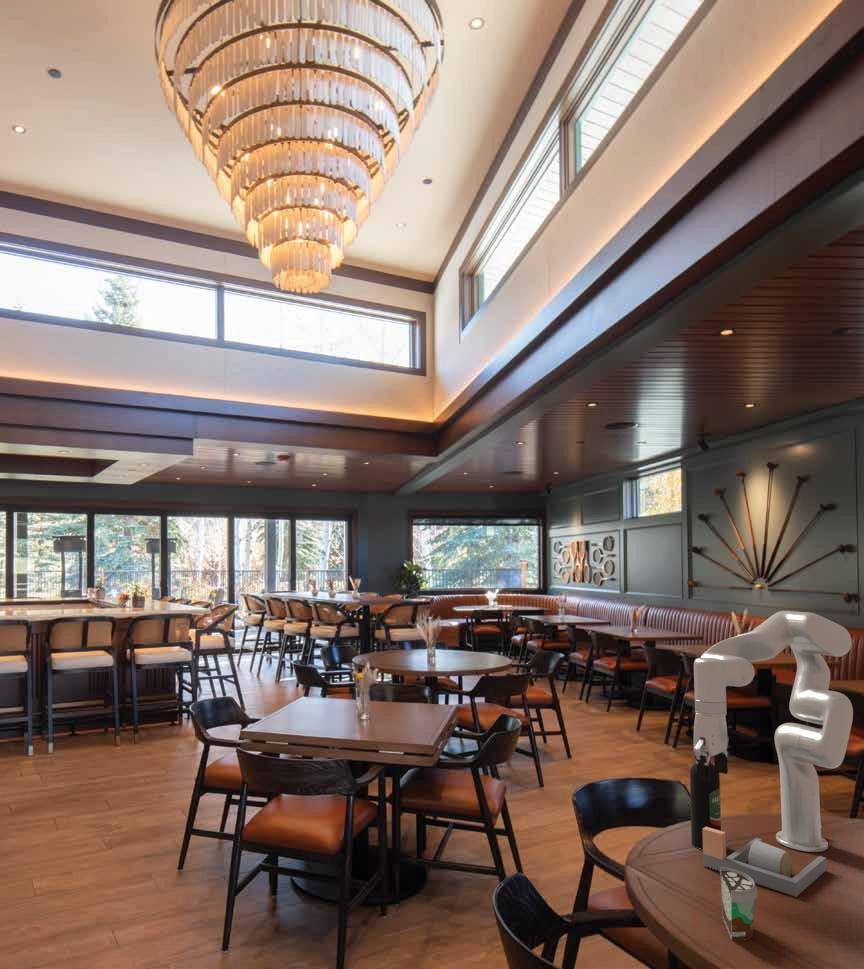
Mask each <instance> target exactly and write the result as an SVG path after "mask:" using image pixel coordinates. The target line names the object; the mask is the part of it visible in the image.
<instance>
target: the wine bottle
mask: <svg viewBox="0 0 864 969" xmlns="http://www.w3.org/2000/svg"><path fill="white" fill-rule="evenodd" d="M703 752H705V751H703ZM704 758H705V759H706V756H704ZM709 765H710V772H711V781H710V782H705V781H701V780H698V779H697V763H696V762H695V763H693V764H692V765H691V767H690V770H689V786H690V787H689V790H690V792H689V793H690V830H691V831H690V832H691V835H690V836H691V845H692V844H693V845H694V846H695V847H698V848H701V849H703V832H702V829H703V828H704V827H709V828H712V829H716V830H719V831H722V815H721V813H722V812H721V783H720V782H721V781H720V780H721V777H720V773H719V772H716V771H715V764H713V763H712V762H711V760H710V761H709ZM693 845H692V846H693ZM694 846H693V847H694ZM695 847H694V848H695ZM698 848H697V849H698Z"/></svg>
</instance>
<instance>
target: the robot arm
mask: <svg viewBox="0 0 864 969" xmlns="http://www.w3.org/2000/svg"><path fill="white" fill-rule="evenodd" d="M788 646H789V647H790V650H792V653H793V655H794V658H795V661H796V673H795V677H794V678H795V679H794V682H793V686H792V690H791V695H790V700H789V706H788V707H789V708H788V709H789V712H790V713H791V715H792V716H793V717H794V718H795V719H798V720H800V721H803V722H807V723H808V722H809V723H812V724H816V725H821V726H822V728H817V727H813V726H810V725H806V724H802V723H801V724H800V723H795V722H785V723H783V724H780V725H779V726H778V727H777V728H776V729H775V732H774V745H775V750H776V753H777V758H778V759H777V760H778V765H779V766H778V767H779V778H780V780H779V783H780V784H779V787H780V788H779V789H780V807H781V809H780V811H781V812H780V813H781V830H780V831H777V833H776V834H775V839H776V841H777V842H778V843H779V844H781V845H783V846H785V847H787V848H789V849H793V850H797V851H801V852H807V853H808V852H809V853H810V852H811V853H819V852H825V851H826V850H828V848H829V843H828V841H827V840H826V839H825V838H823V837H822V829H821V828H822V823H821V807H820V805H821V804H820V781H819V774H818V773H817V770H816V768H815V766H818V767H822V768H826V769H836V768H838V767H839V766H841V765H842V763H843V762H844V759H845V755H846V752H847V747H848V743H849V738H850V734H851V729H852V724H853V719H854V718H853V716H854V708H853V704H852V702H851V700H850V699H849V697H848V696H847V695H845V694H844V693H841V692H838V691H835V690H829V688H830V681H831V670H830V668H829V666H828V664H827V662H826V660H825V659H824V657H823V656H830V657H843V656H844V655H847V654H848V653H849V651H850V650H851V648H852V637H851V634H850V633H849V631H848V630H847V628H845V627H844V626H842V625H841V624H838V623H836V622H835V621H832V620H830V619H829V618H826V617H824V616H821V615H819V614H817V613H814V612H806V611H805V612H804V611H797V610H796V611H793V610H779V611H777V612H775V613H774V614H772V615H771V616H769V617H768V618H767V619H766V620H765V621H762V623H760V624H759V625H758V626H756V627H755V628H754V629H753V630H750V631H749V632H745V633H741V634H739V635H736V636H733V637H729V638H725V639H724V640H721V641H718V642H717V643H715V644H714V645H712V646H710V648H708V649H707V650H705V651H704V652H703V654H702V655H701V656H700V657H697V658H695V659H694V662H693V676H694V677H693V679H694V680H693V681H694V684H693V685H694V712H695V716H694V722H693V723H694V724H693V753H694V758H695V763H697V779H698V780H701V781H705V782H710V781H711V772H710V765H709V761H710V762H711V757H713V758H714V766H715V771H716V772H719V774H724V775H728V773H729V770H728V768H729V767H728V766H729V764H728V762H729V761H728V756H729V752H728V750H729V741H730V740H729V738H730V737H729V736H728V727H727V718H726V716H727V715H728V714H727V708H728V707H727V688H726V687H740V688H741V687H745V686H747V685H749V684H751V682H752V681H754V680H753V679H754V677H755V668H754V665H753V664H752V663H753V662H754V663H755V662H763V661H768V660H772V659H774V658H775V657H776V656H777V655H779V654H780V653H781V652H782V651H784V650H785V649H786V648H787V647H788ZM751 662H752V663H751ZM703 751H705V752H703ZM704 756H706V759H705V758H704ZM814 765H815V766H814Z"/></svg>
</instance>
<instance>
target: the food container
mask: <svg viewBox="0 0 864 969" xmlns="http://www.w3.org/2000/svg"><path fill="white" fill-rule="evenodd" d="M719 876H720V888H721V891H720V892H721V894H720V895H721V912H722V913H721V914H722V915H721V916H722V920H723V919H724V920H723V922H724V924H726V925H725V928H726V929H728V930H727V931H728V934H730V935H729V937H730V939H732V940H731V941H737V940H738V941H745V940H744V939H746V940H749V939H751V938H752V937H753V933H754V912H755V910H754V909H755V900H756V899H757V898H758V895H759V894H758V889H757V885H756V883H754V881H753V879H752V878H751V877H749V876H748V875H746V874H744V873H742V872H740V871H737V870H734V869H730V868H724V867H720V871H719ZM748 938H749V939H748Z"/></svg>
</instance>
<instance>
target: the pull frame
mask: <svg viewBox="0 0 864 969" xmlns="http://www.w3.org/2000/svg"><path fill="white" fill-rule="evenodd" d="M702 832H703V850H702V858H703V859H702V864H703V867H705V866H706V867H705V868H708V867H709V868H708V869H711V868H712V869H711V870H714V869H715V870H714V871H717V870H718V872H720V867H724V868H730V869H734V870H737V871H740V872H742V873H744V874H746V875H748V876H749V877H751V878H752V879H753V881H754V883H755V885H756V884H757V885H760V886H762V887H766V888H768V889H772V890H775V891H776V892H777V891H778V892H780V893H784V894H786V895H790V896H793V897H795V898H796V897H798V896H799V895H800V894H801V893H803V892H804V891H805V890H806V889H807V888H809V886H811V884H813V883H814V882H815V881H816V880H817V879H818V878H820V877H821V876H822V875H823V874H824V873H826V871H827V857H824V856H822V855H818V856H817V857H816V858H815V859H814V860H812V861H811V862H810V863H809V864H807V866H805V867H804V868H803V869H802V870H800V871H799V872H798V873H797V874H795V875H794V876H793V877H791V876H790V877H787V876H783V875H780V874H777V873H774V872H771V871H768V870H764V869H761V868H758V867H755V866H752V865H749V852H750V848H751V845H752V844H753V842H754V841H756V840H758V841H761V842H763V839H762V838H759V837H755V838H753V839H752V840H750V841H749V842H747V843H746V844H745V845H743V846H742V847H740V848H739V849H736V850H735V851H733V852H732V853H731V854H729V855H728V856H727V843H726V842H727V841H726V840H727V838H726V836H727V835H726V831H722V830H721V831H719V830H716V829H712V828H709V827H704V828H703V829H702Z"/></svg>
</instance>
